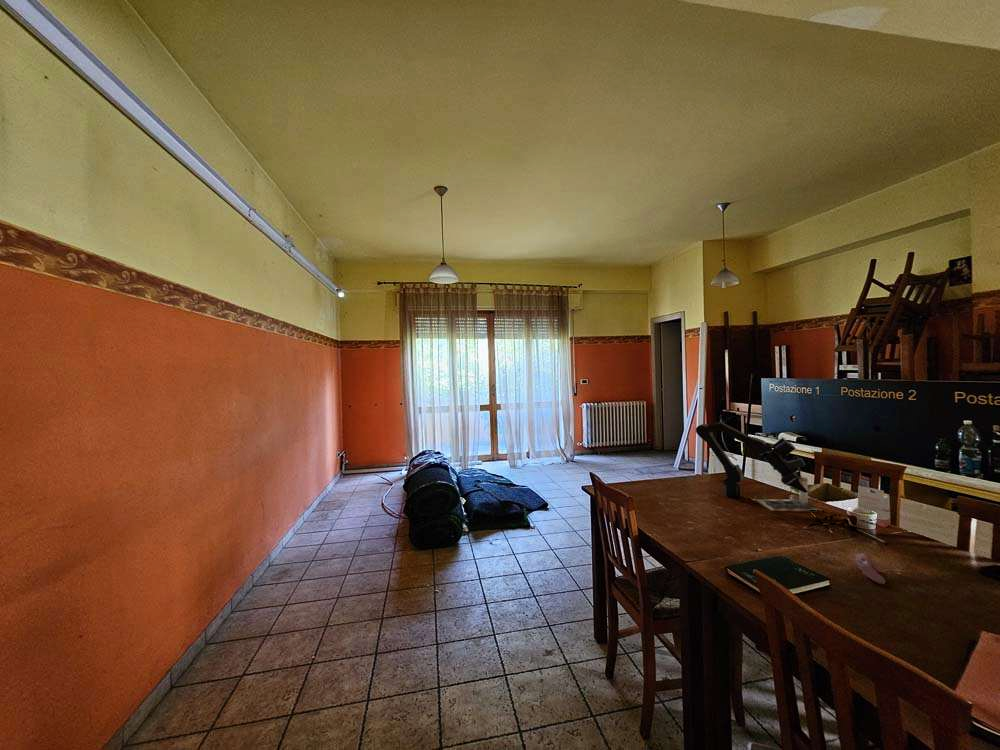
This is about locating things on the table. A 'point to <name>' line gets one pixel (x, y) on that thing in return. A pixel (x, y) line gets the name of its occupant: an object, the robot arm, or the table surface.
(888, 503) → the ink cartridge box
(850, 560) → the table surface
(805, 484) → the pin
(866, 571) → the pink rounded piece
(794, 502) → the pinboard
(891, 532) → the table surface
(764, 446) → the robot arm
